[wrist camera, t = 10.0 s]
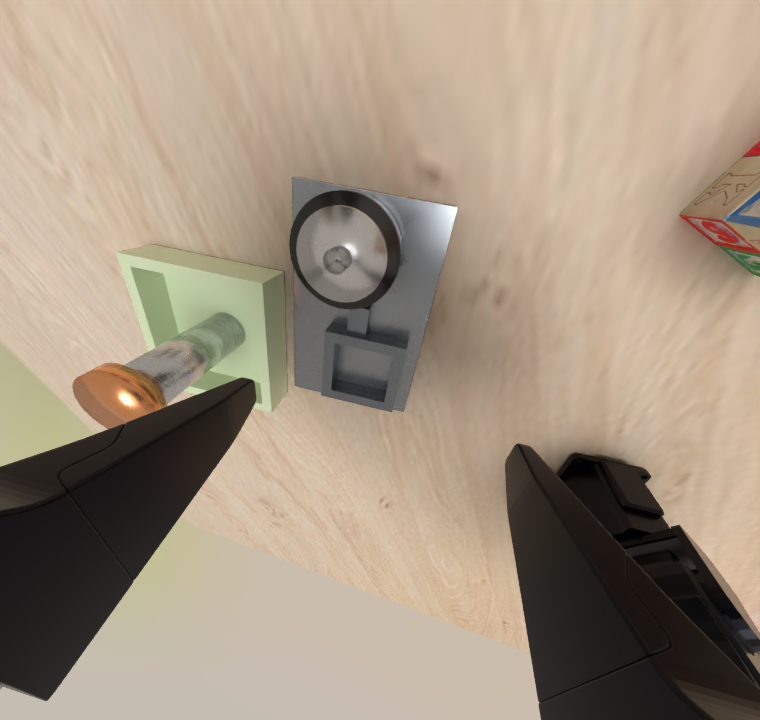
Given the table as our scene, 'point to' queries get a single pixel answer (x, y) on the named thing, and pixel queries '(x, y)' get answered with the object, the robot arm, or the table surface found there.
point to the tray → (213, 312)
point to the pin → (157, 372)
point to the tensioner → (363, 288)
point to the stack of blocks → (732, 211)
